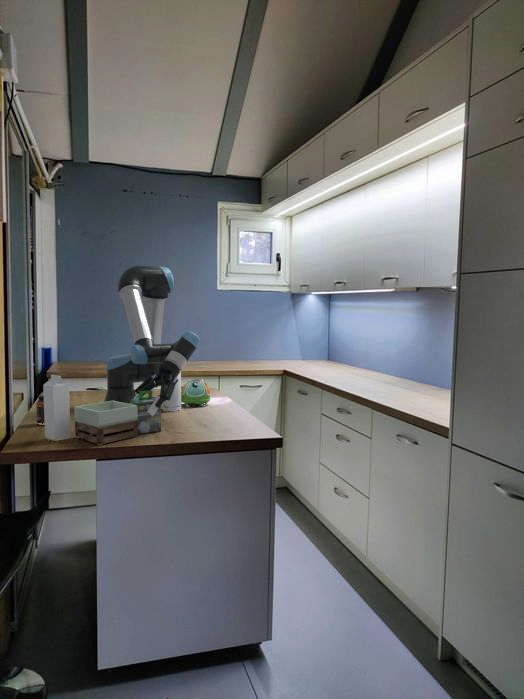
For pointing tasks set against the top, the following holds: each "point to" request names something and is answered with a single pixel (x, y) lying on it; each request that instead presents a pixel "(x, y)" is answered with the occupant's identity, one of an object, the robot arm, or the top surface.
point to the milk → (56, 408)
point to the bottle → (174, 397)
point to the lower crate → (106, 432)
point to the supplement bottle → (40, 409)
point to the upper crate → (106, 413)
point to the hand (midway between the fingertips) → (139, 411)
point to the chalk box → (144, 418)
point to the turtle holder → (195, 392)
